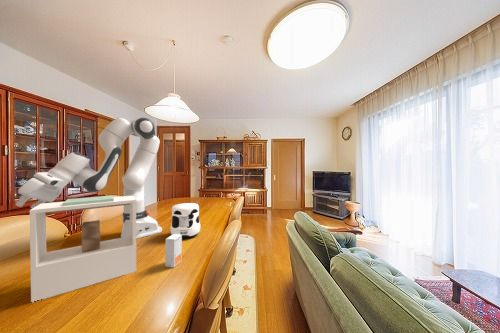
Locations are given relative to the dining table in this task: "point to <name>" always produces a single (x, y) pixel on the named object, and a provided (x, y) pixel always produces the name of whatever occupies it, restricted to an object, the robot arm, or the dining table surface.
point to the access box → (78, 251)
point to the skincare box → (173, 250)
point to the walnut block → (90, 236)
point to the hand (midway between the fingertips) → (25, 207)
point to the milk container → (185, 220)
